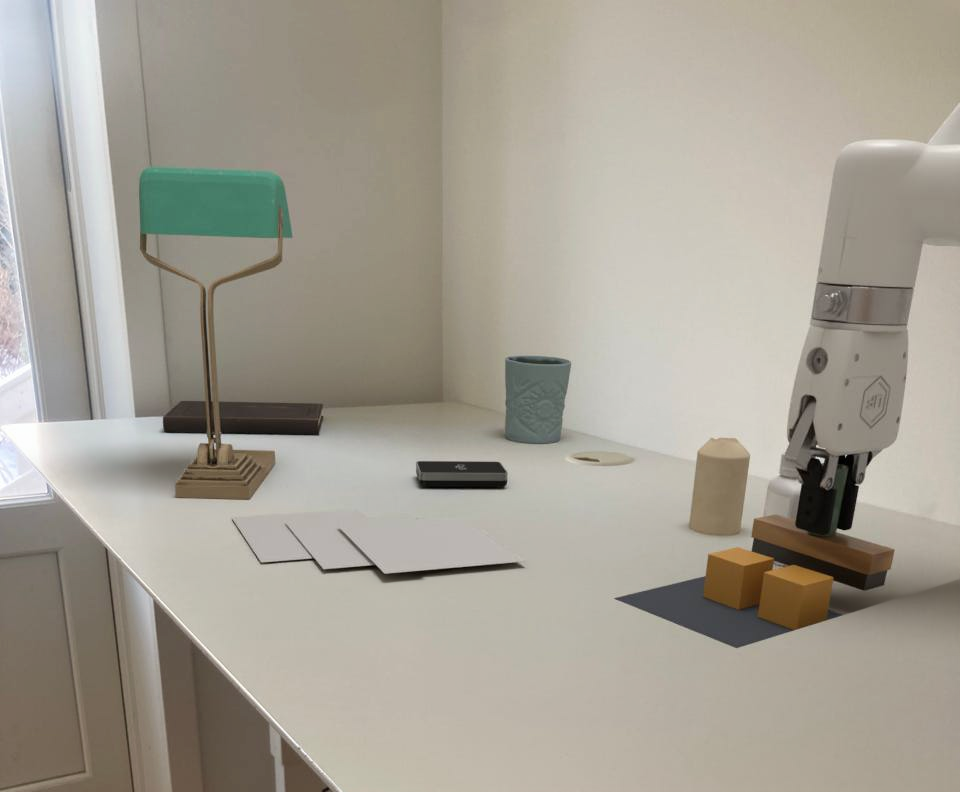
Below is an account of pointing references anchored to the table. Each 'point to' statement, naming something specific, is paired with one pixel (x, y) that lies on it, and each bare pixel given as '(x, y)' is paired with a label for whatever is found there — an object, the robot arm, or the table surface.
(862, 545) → the brush
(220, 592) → the table surface
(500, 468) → the external hard drive
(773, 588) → the cube
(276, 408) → the hardcover book
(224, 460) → the banker's lamp
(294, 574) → the table surface
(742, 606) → the cube
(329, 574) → the table surface
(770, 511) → the eye dropper bottle
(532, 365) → the embossed green cup
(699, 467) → the candle
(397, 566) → the paper stack
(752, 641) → the mat
